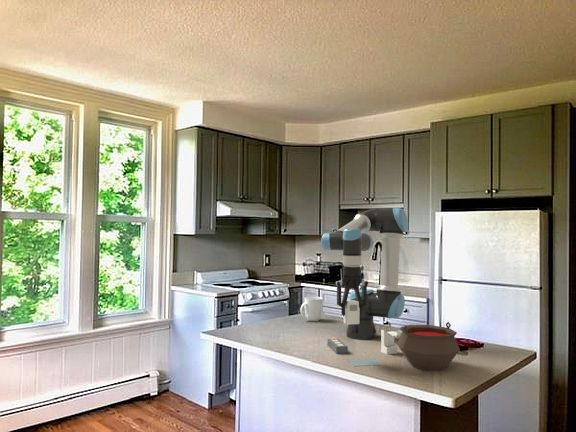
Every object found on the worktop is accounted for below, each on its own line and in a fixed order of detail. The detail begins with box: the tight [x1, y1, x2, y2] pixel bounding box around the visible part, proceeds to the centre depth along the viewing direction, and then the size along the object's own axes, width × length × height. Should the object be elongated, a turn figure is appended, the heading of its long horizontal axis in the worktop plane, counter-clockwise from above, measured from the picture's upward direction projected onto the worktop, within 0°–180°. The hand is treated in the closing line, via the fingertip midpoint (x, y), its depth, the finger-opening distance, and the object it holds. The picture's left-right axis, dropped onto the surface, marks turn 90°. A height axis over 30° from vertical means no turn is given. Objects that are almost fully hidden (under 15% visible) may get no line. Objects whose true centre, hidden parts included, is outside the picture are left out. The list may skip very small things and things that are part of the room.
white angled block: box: [380, 329, 398, 355], centre depth 196 cm, size 4×10×9 cm, turn 118°
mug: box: [299, 296, 324, 322], centre depth 267 cm, size 15×11×13 cm
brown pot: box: [396, 321, 461, 371], centre depth 179 cm, size 24×24×16 cm
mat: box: [346, 358, 384, 367], centre depth 180 cm, size 12×9×1 cm
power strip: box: [326, 337, 349, 355], centre depth 203 cm, size 5×20×4 cm, turn 11°
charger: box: [346, 299, 359, 325], centre depth 186 cm, size 4×7×9 cm, turn 9°
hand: (351, 323), depth 185 cm, fingers closed on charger, 4 cm apart
